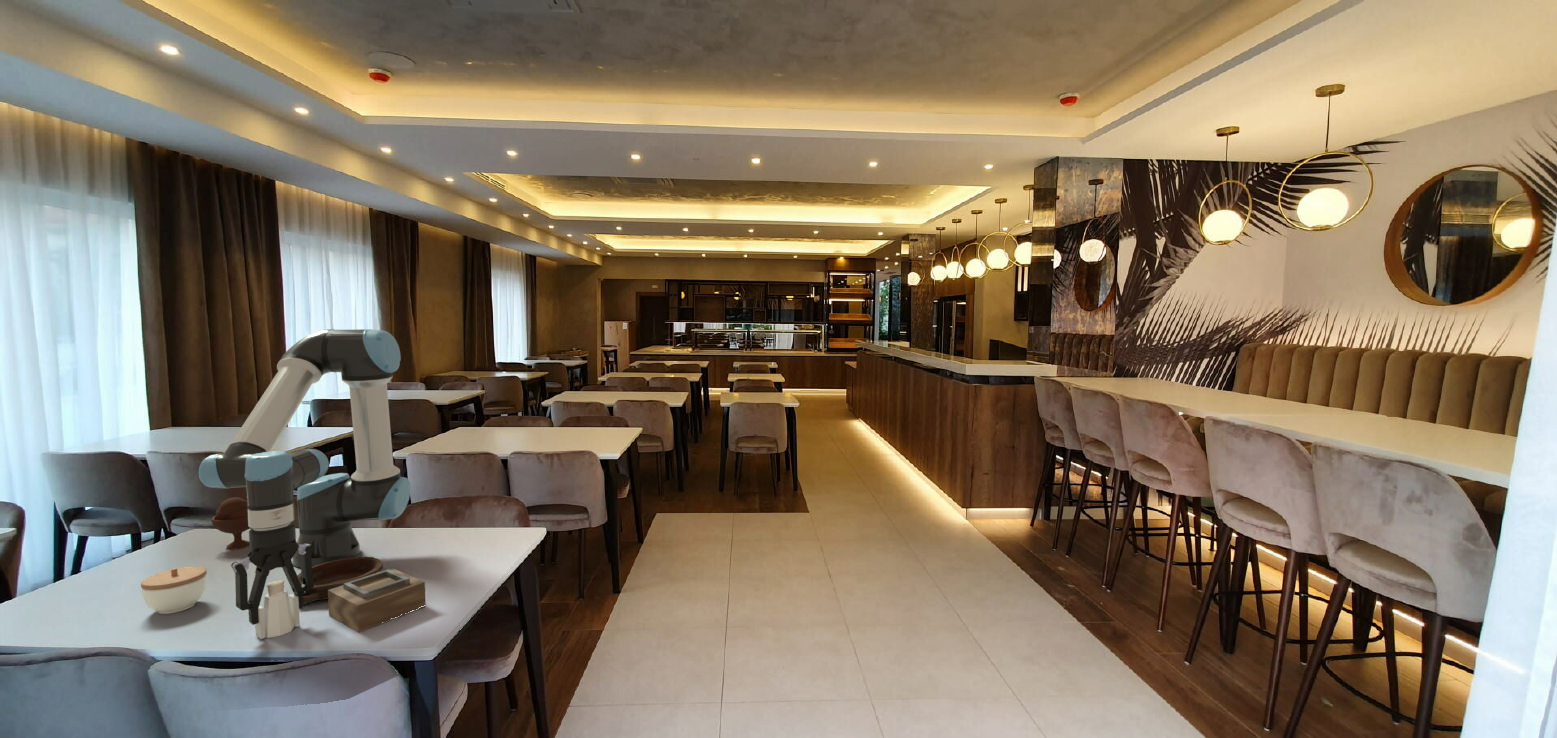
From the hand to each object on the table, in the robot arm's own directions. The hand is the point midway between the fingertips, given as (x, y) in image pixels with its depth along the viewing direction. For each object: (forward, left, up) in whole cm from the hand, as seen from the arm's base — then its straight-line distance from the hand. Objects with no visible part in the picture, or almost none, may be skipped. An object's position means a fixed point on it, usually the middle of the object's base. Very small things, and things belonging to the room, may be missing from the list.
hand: (278, 630), depth 128 cm
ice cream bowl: (-70, +14, 0) cm, 71 cm away
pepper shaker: (0, 0, 0) cm, 0 cm away
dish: (-13, +17, -1) cm, 21 cm away
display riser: (+8, +16, 0) cm, 18 cm away
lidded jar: (-33, -8, -1) cm, 34 cm away
